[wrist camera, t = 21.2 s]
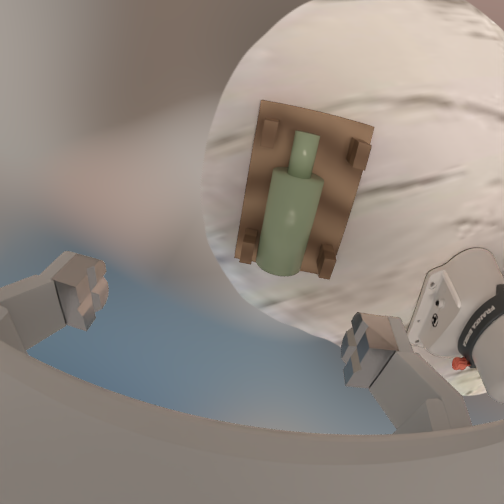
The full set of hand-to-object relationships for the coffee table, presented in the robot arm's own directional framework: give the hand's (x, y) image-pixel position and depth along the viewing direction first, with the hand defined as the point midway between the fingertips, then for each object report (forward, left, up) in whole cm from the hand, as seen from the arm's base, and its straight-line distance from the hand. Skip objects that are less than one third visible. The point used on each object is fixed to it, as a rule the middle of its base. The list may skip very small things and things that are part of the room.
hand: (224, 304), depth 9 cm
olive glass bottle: (-15, -4, -27) cm, 31 cm away
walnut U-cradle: (-6, -5, -31) cm, 32 cm away
